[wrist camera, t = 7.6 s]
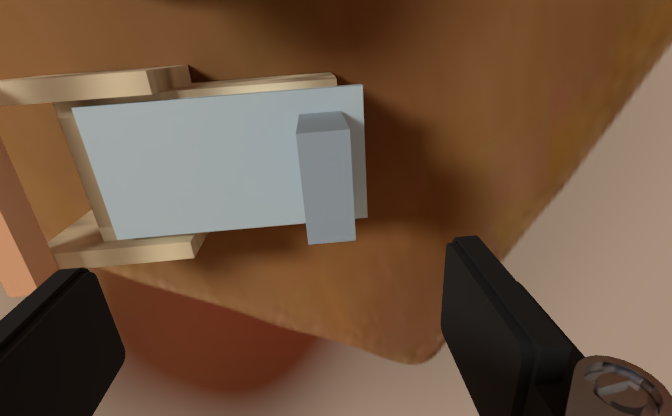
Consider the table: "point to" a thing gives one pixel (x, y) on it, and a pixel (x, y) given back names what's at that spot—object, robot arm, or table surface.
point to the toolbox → (94, 227)
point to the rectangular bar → (20, 237)
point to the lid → (231, 162)
